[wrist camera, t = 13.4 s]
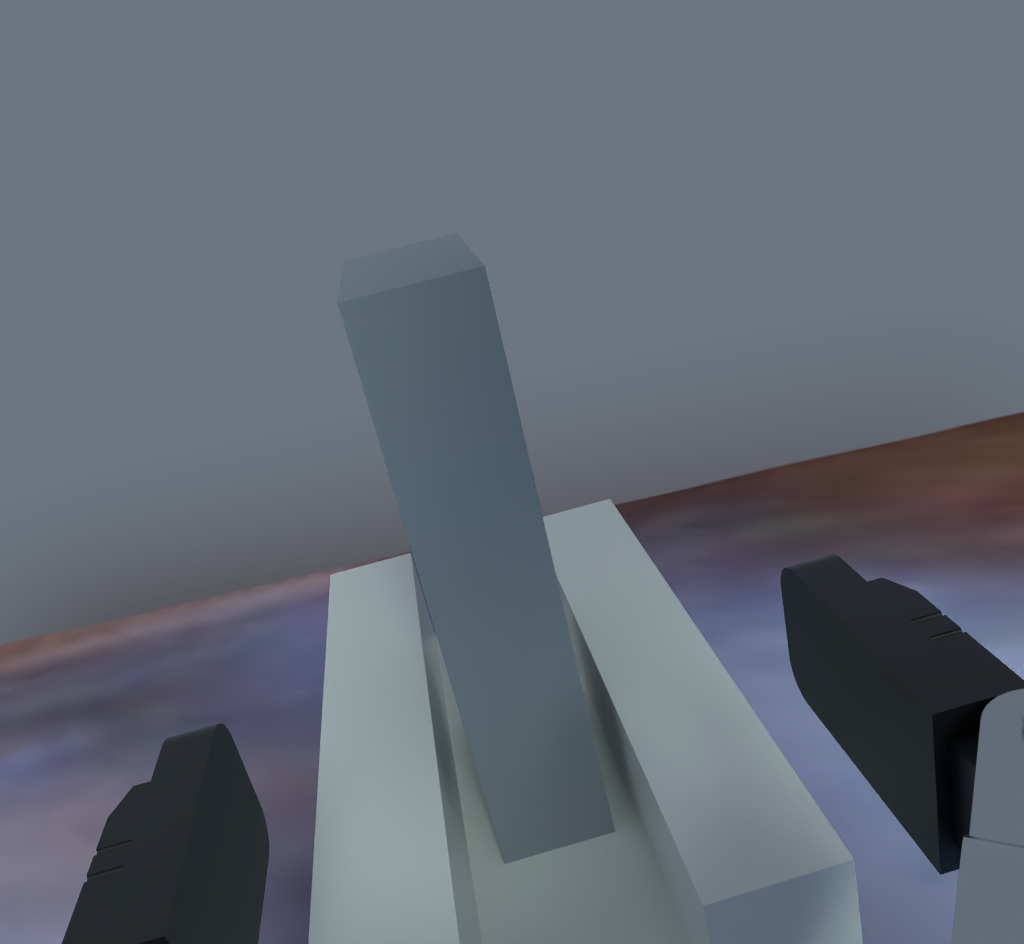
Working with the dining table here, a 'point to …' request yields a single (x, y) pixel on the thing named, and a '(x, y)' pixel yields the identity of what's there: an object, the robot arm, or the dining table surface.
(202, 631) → the dining table surface
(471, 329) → the slate slat
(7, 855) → the dining table surface
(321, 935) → the rail
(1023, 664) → the dining table surface
